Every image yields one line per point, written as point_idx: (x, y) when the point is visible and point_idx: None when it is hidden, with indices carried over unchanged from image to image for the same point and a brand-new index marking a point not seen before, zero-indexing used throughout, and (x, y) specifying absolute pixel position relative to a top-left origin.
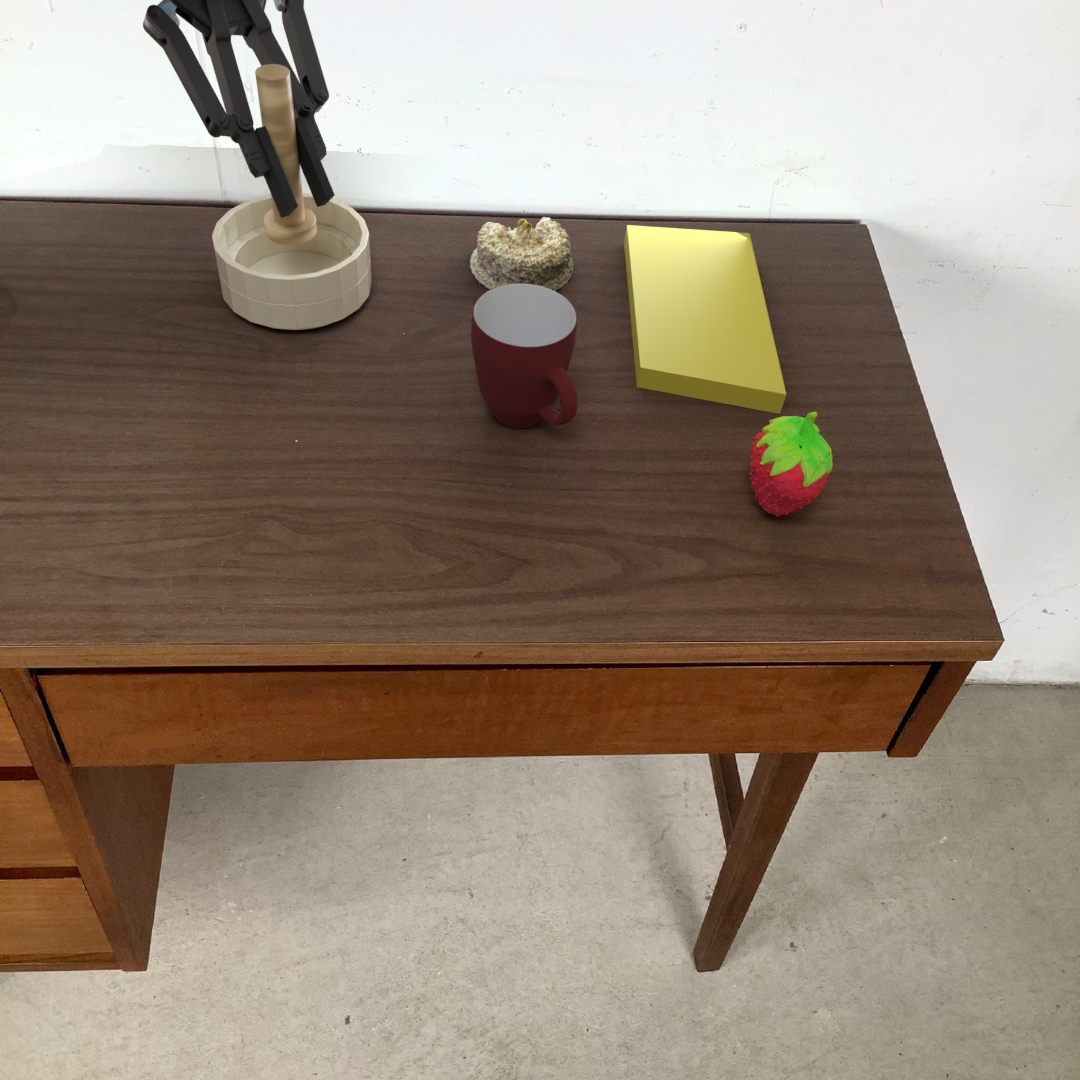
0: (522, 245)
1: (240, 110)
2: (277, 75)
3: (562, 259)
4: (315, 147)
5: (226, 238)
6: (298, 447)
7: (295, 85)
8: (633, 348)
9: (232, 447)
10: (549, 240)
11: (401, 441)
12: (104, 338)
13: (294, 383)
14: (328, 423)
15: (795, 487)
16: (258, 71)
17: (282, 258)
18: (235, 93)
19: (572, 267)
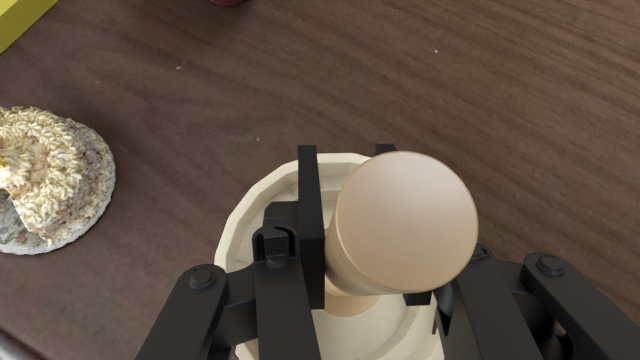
0: (28, 150)
1: (487, 276)
2: (401, 178)
3: (4, 108)
4: (290, 212)
5: (421, 353)
6: (437, 43)
7: (276, 313)
8: (55, 2)
9: (495, 71)
10: None
11: (346, 7)
12: None
13: (406, 123)
14: (398, 57)
15: None
16: (462, 243)
17: (326, 345)
18: (504, 320)
19: None
